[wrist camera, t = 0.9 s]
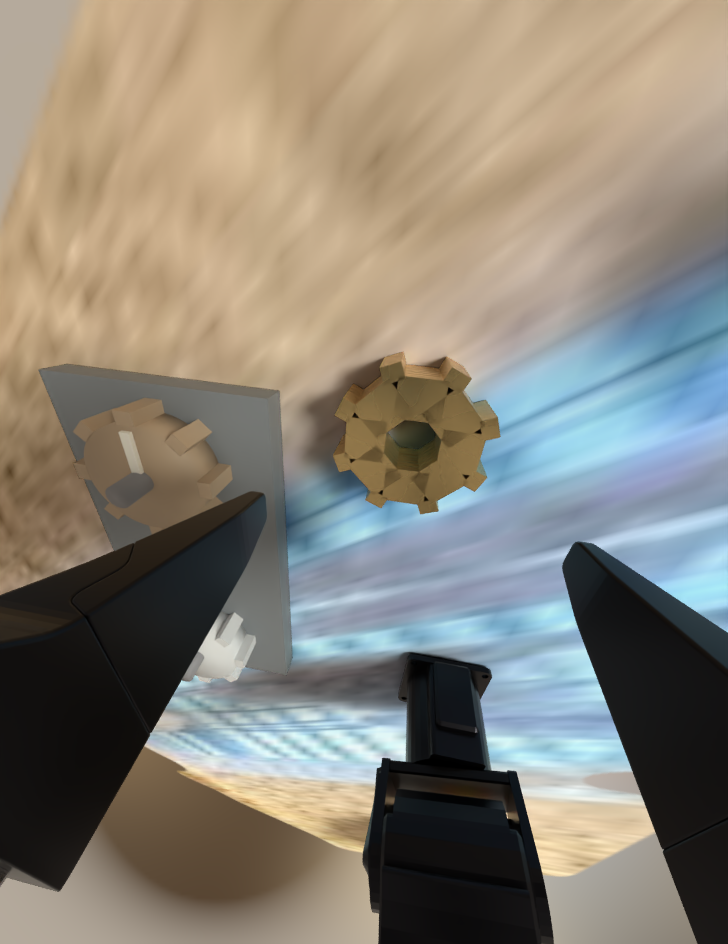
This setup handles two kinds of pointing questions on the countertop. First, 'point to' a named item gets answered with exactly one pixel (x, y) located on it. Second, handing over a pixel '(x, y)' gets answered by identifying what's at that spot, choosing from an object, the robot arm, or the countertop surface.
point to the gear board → (232, 445)
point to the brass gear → (420, 400)
